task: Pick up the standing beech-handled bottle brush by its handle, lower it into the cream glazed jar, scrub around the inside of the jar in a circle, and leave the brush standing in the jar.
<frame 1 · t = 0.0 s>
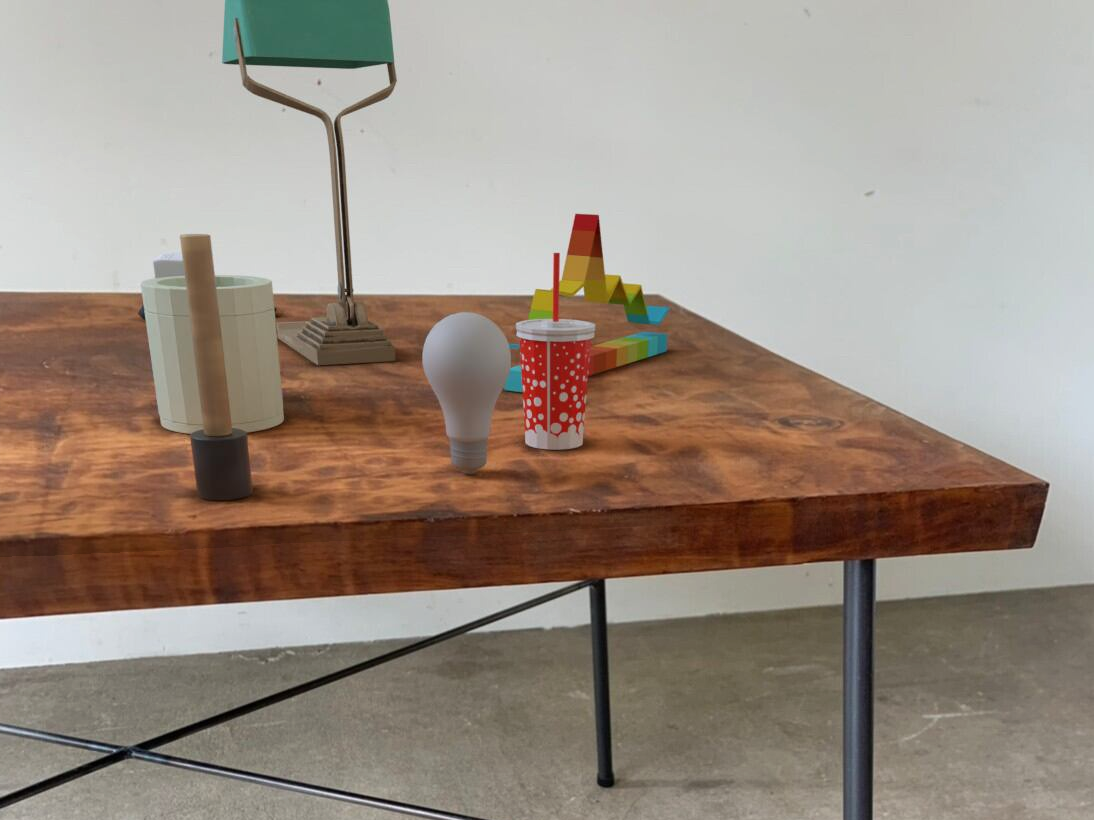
banker's lamp: (332, 349, 132), on the table
beverage cup: (554, 445, 92), on the table
lightbulb: (469, 476, 83), on the table
jar: (223, 421, 97), on the table
brush: (225, 493, 78), on the table
cosmetic box: (197, 401, 105), on the table
computer mouse: (204, 315, 155), on the table
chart: (591, 370, 122), on the table
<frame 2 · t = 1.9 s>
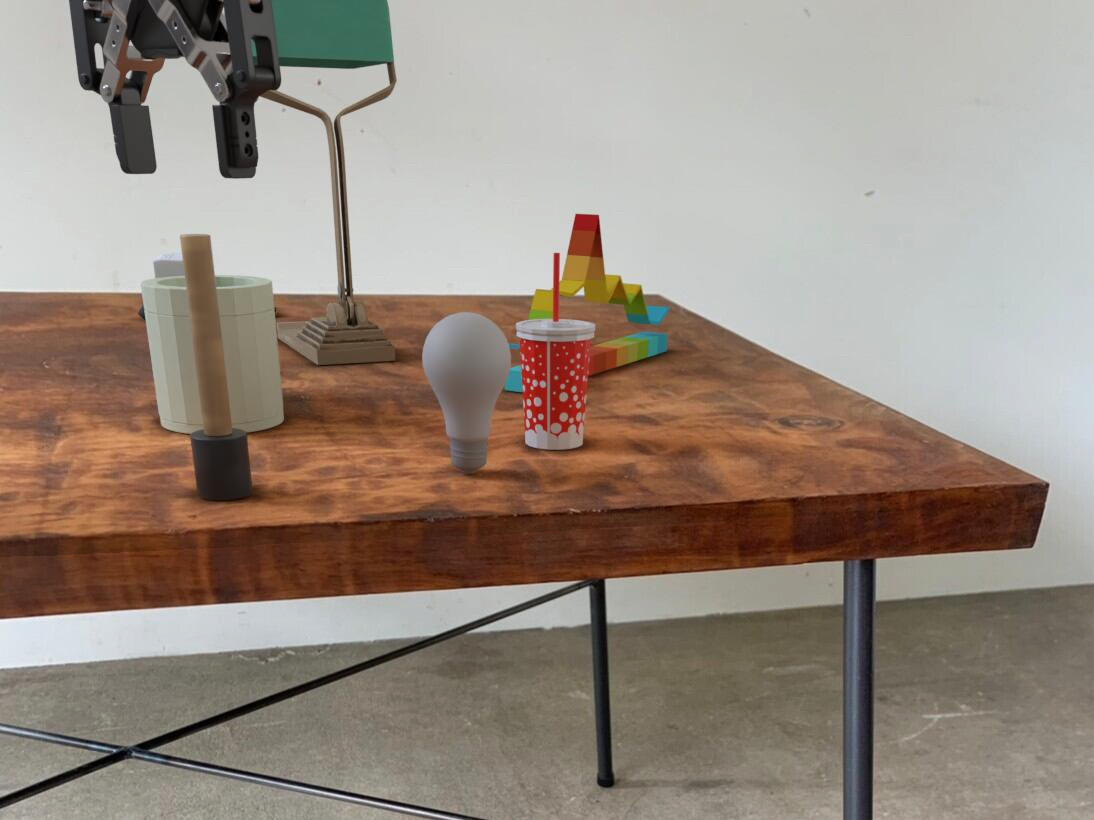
hand: (188, 176, 69), 19 cm above the table, tool pointing down, fingers open, 8 cm apart
nothing on the table moved.
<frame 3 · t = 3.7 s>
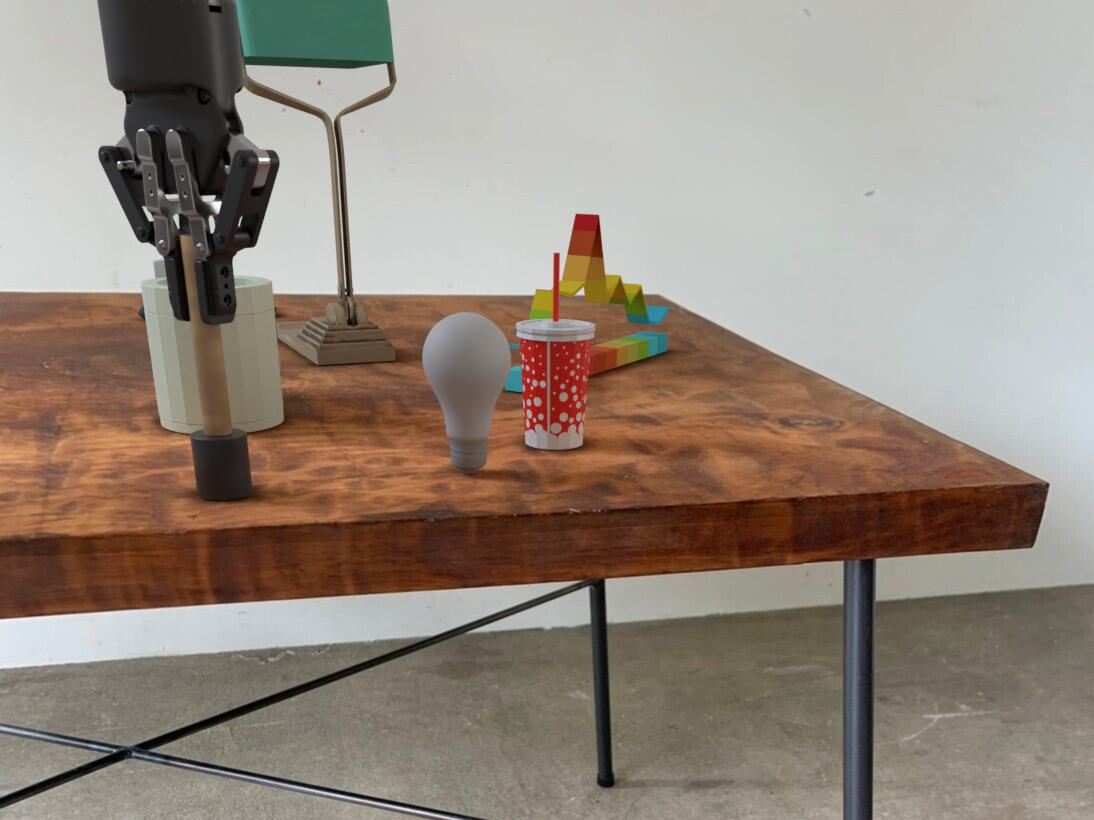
hand: (205, 320, 73), 11 cm above the table, tool pointing down, fingers closed on brush, 2 cm apart
brush: (225, 493, 78), on the table, touching gripper
everything else where it was.
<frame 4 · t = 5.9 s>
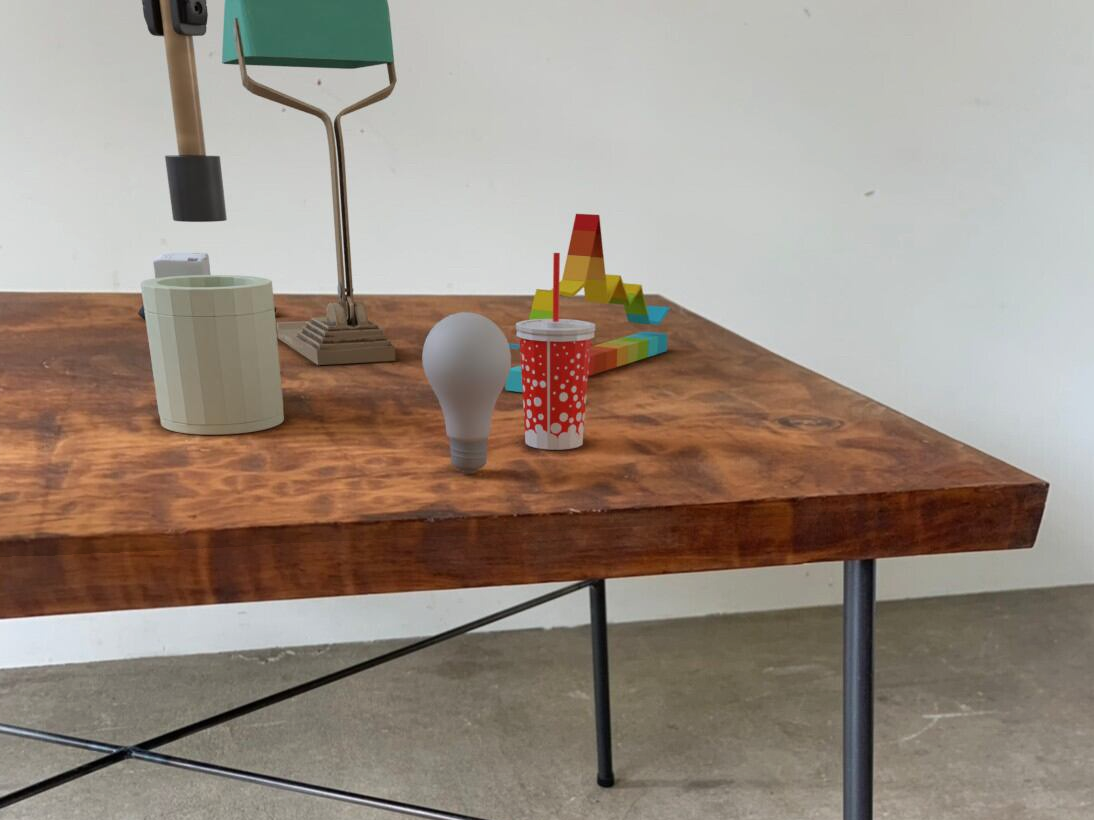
hand: (178, 34, 75), 27 cm above the table, tool pointing down, fingers closed on brush
brush: (200, 220, 80), point 16 cm above the table, touching gripper
everything else where it was.
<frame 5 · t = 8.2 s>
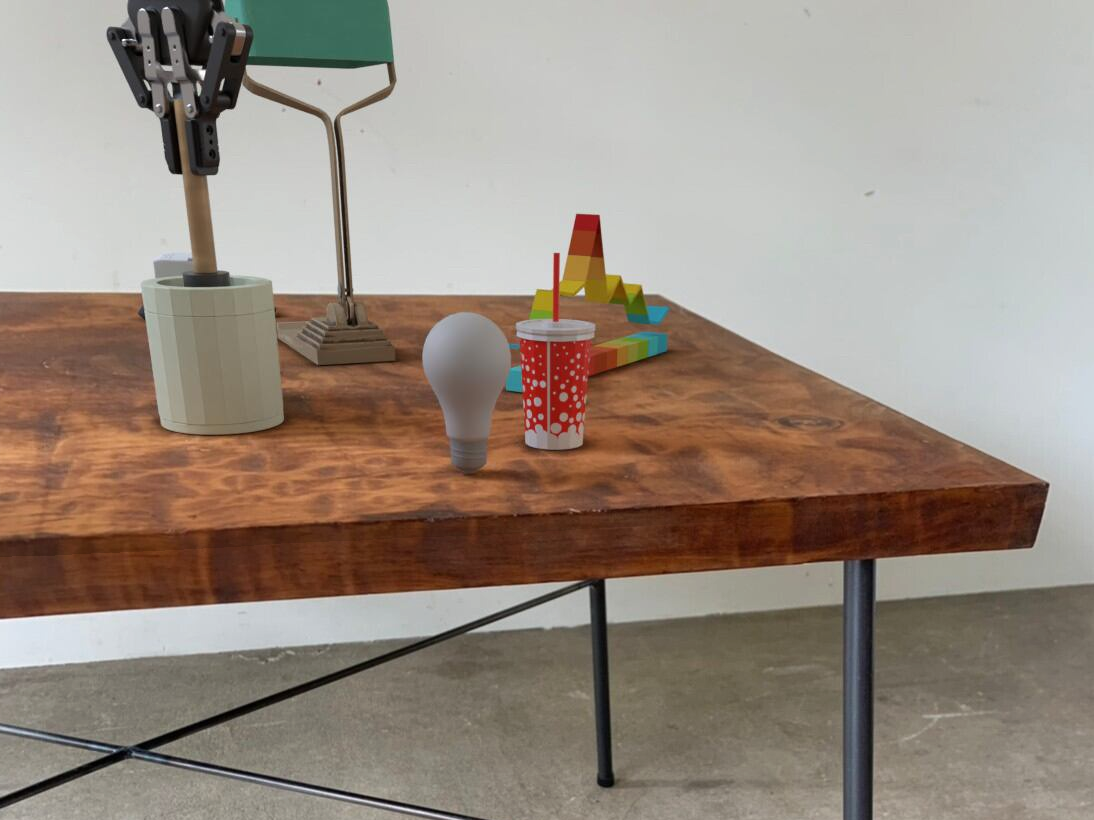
hand: (194, 173, 89), 19 cm above the table, tool pointing down, fingers closed on brush
brush: (212, 325, 94), point 8 cm above the table, touching gripper
everything else where it was.
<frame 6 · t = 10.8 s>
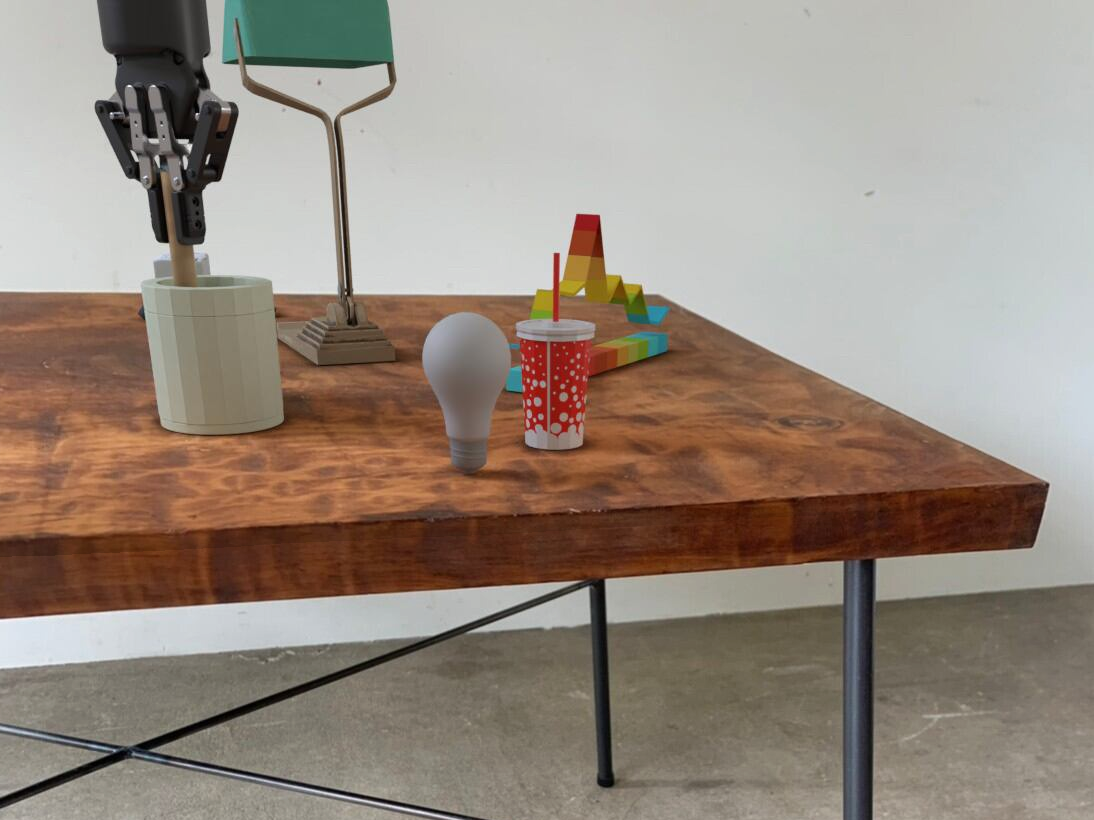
hand: (180, 242, 90), 14 cm above the table, tool pointing down, fingers closed on brush, 2 cm apart
brush: (198, 388, 95), point 3 cm above the table, touching gripper
everything else where it was.
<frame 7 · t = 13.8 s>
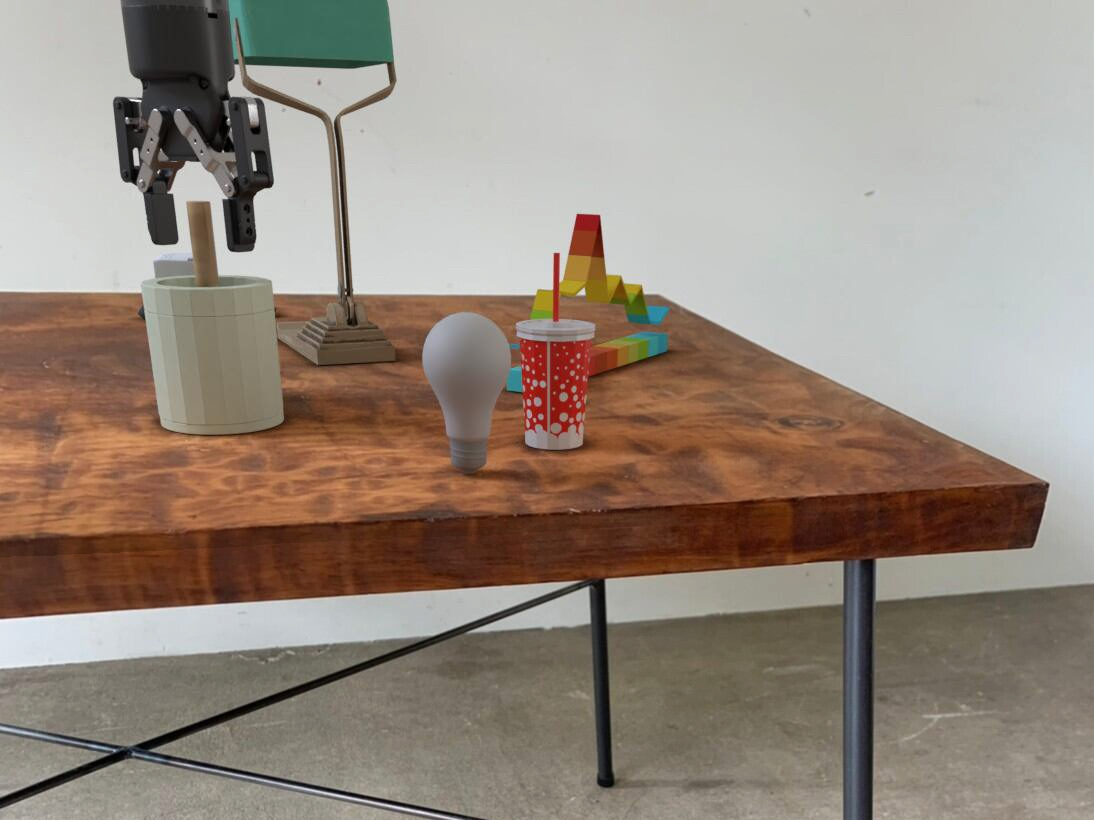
hand: (203, 248, 91), 13 cm above the table, tool pointing down, fingers open, 8 cm apart
brush: (222, 411, 97), point 1 cm above the table, touching jar
everything else where it was.
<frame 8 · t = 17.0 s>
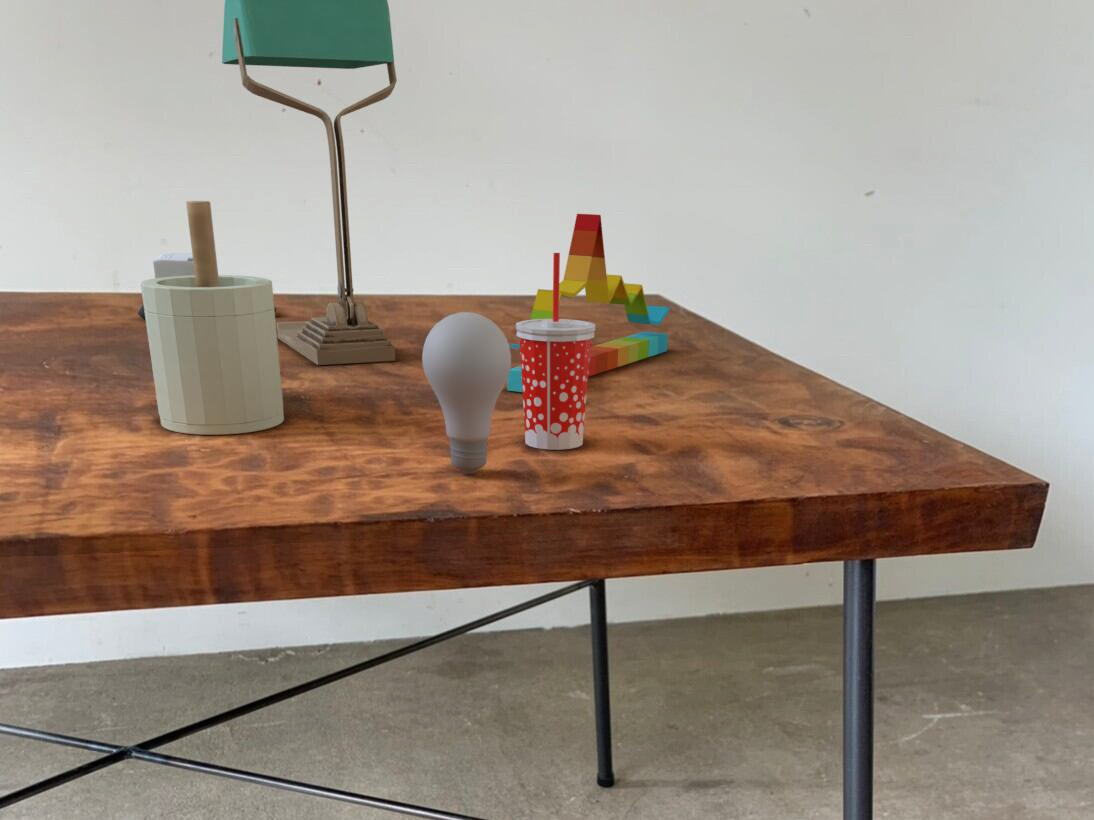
nothing on the table moved.
at the end: brush 0.0 cm off-centre in the jar, point 0.8 cm above the jar's base; brush tilted 0°; the gripper is holding nothing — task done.
